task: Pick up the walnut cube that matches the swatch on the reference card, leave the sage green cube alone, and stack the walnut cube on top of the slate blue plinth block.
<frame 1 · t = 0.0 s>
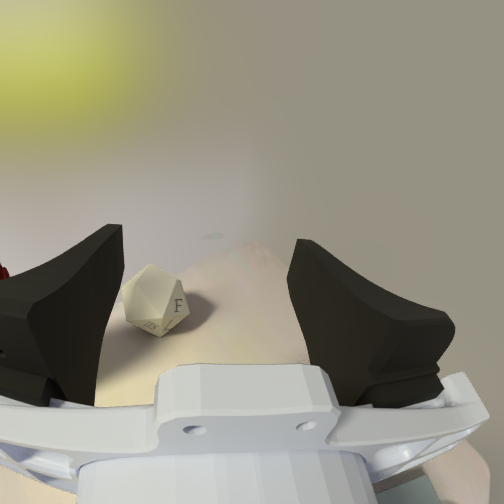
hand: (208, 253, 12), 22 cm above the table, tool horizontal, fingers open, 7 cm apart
die: (155, 324, 39), on the table
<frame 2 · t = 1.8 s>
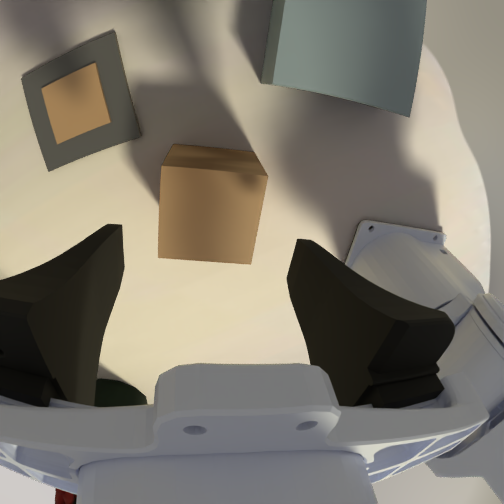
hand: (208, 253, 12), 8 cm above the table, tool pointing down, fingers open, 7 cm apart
walnut cube: (209, 184, 19), on the table
slate plinth: (331, 37, 15), on the table
wine bottle: (108, 391, 30), on the table
reference card: (77, 103, 15), on the table
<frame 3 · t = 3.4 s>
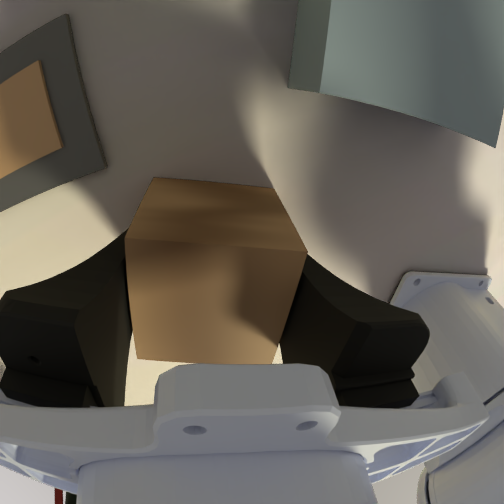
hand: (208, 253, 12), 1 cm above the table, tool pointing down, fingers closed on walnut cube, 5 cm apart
walnut cube: (208, 235, 14), on the table, touching gripper
slate plinth: (385, 24, 9), on the table
reference card: (19, 120, 9), on the table
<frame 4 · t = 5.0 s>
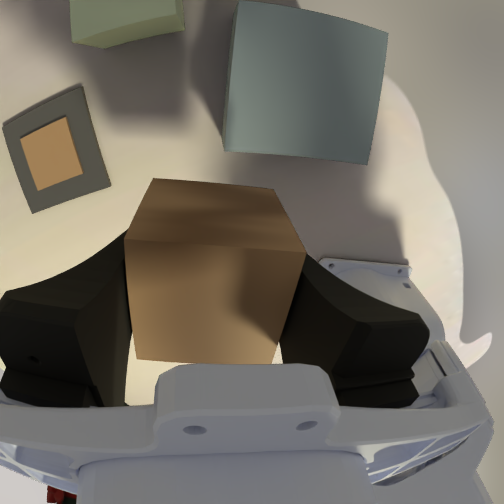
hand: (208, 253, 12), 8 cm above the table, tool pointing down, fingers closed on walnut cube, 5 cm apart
sage cube: (140, 3, 13), on the table
walnut cube: (207, 236, 14), point 7 cm above the table, touching gripper
slate plinth: (291, 81, 17), on the table
wine bottle: (95, 400, 32), on the table
reference card: (53, 153, 17), on the table
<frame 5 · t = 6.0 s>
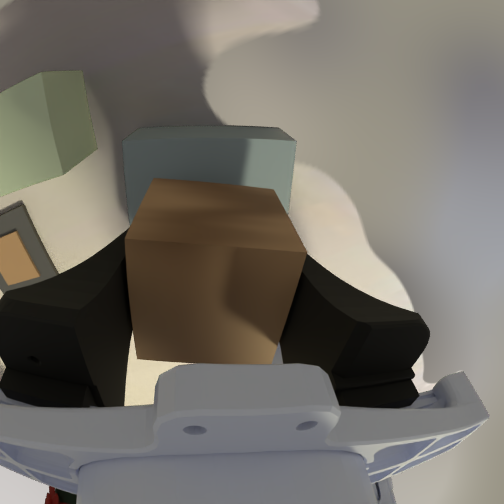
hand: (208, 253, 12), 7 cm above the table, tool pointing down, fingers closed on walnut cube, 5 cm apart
sage cube: (54, 121, 14), on the table
walnut cube: (207, 236, 14), point 5 cm above the table, touching gripper
slate plinth: (208, 189, 18), on the table
wine bottle: (83, 430, 33), on the table
reference card: (13, 256, 18), on the table
when the fingers open (7 cm above the table, at t = 6.8 s): walnut cube drops 2 cm, resting on slate plinth.
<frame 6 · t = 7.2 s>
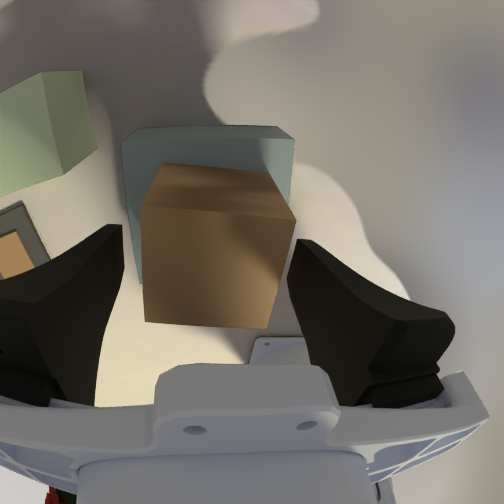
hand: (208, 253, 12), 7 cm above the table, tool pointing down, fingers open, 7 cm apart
sage cube: (54, 121, 14), on the table
walnut cube: (210, 215, 15), point 4 cm above the table, touching slate plinth
slate plinth: (207, 189, 18), on the table, touching walnut cube
wine bottle: (83, 430, 33), on the table
reference card: (13, 257, 18), on the table
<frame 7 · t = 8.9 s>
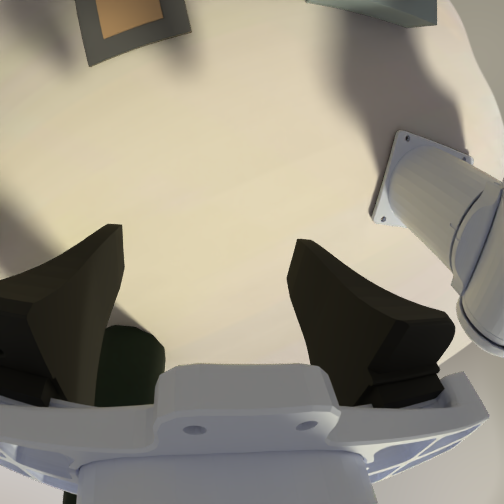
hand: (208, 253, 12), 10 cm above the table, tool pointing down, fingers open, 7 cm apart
wine bottle: (121, 344, 29), on the table
reference card: (128, 4, 13), on the table
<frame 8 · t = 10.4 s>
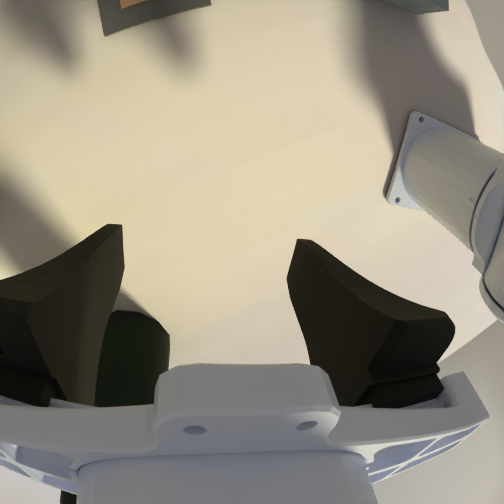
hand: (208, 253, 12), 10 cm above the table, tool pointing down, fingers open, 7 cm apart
wine bottle: (123, 331, 28), on the table
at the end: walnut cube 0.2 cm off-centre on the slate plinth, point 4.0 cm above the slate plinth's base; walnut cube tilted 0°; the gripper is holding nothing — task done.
